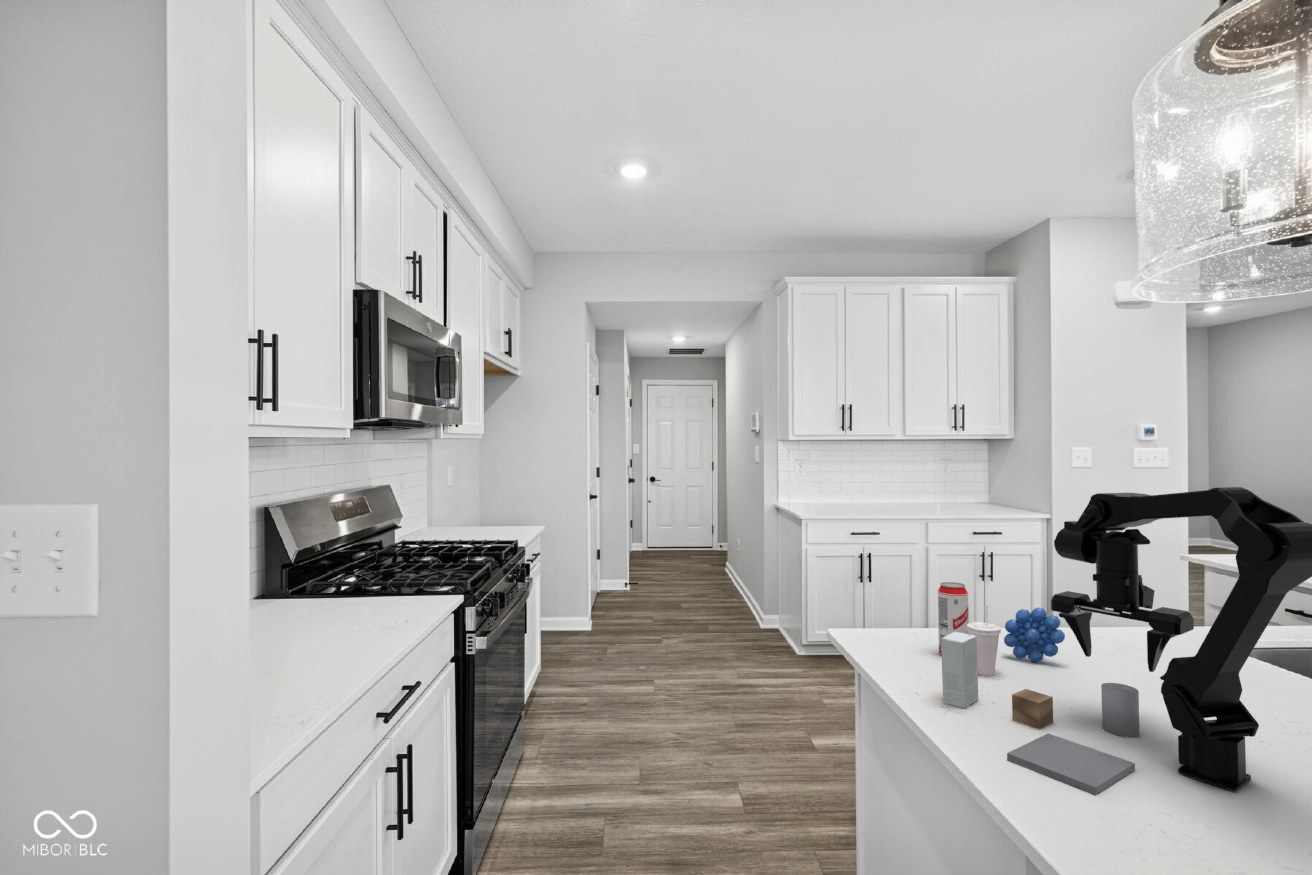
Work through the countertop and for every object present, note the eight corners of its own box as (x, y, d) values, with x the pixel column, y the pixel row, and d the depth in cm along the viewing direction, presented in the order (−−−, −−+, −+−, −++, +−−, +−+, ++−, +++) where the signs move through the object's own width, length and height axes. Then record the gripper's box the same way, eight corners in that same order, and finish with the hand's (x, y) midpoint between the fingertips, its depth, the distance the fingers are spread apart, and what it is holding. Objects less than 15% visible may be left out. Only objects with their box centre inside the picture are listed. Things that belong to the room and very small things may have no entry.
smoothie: (1006, 679, 131) (1004, 609, 132) (971, 677, 133) (970, 608, 133) (996, 668, 138) (994, 602, 138) (963, 666, 139) (962, 601, 139)
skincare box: (955, 693, 124) (954, 630, 124) (979, 700, 121) (977, 635, 121) (941, 702, 120) (940, 637, 120) (965, 709, 117) (963, 642, 117)
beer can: (932, 653, 148) (931, 583, 148) (952, 650, 151) (951, 580, 151) (955, 662, 142) (954, 588, 142) (975, 657, 145) (974, 585, 145)
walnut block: (1053, 723, 111) (1052, 696, 111) (1039, 729, 108) (1039, 702, 108) (1026, 714, 115) (1025, 688, 115) (1012, 720, 112) (1011, 694, 112)
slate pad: (1134, 769, 94) (1134, 762, 94) (1095, 794, 88) (1095, 787, 88) (1048, 739, 105) (1048, 733, 105) (1007, 759, 98) (1007, 752, 98)
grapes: (1068, 662, 141) (1067, 606, 141) (1064, 670, 136) (1062, 612, 136) (1008, 652, 149) (1007, 599, 149) (1001, 659, 143) (1000, 605, 143)
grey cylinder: (1145, 732, 107) (1144, 689, 107) (1131, 740, 104) (1130, 696, 104) (1110, 722, 111) (1109, 680, 111) (1096, 729, 108) (1095, 686, 108)
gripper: (1206, 571, 104) (1208, 669, 104) (1079, 556, 120) (1081, 641, 120) (1177, 580, 98) (1180, 684, 98) (1048, 562, 114) (1050, 652, 114)
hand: (1119, 663), depth 108 cm, fingers open, 9 cm apart
